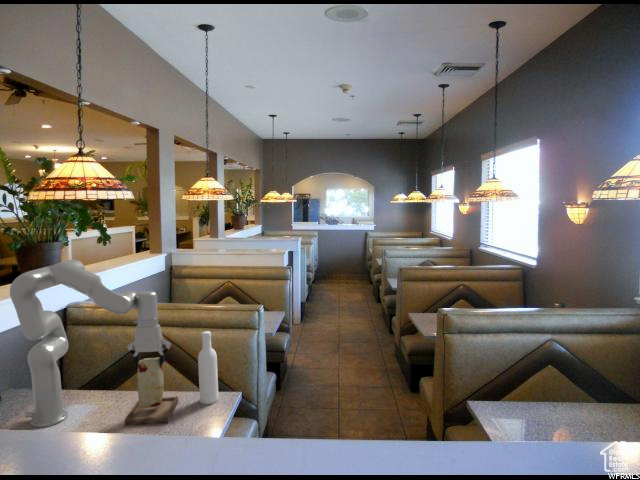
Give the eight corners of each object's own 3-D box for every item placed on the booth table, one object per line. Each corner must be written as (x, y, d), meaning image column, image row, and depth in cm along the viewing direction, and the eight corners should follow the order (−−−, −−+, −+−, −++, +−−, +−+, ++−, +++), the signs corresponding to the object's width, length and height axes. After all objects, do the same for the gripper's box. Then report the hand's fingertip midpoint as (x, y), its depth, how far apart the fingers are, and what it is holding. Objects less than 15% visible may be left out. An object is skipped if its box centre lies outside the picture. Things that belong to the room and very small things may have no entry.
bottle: (200, 397, 192) (197, 330, 190) (219, 395, 194) (216, 329, 191) (198, 405, 184) (195, 335, 182) (218, 403, 186) (215, 334, 183)
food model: (140, 412, 173) (137, 362, 171) (137, 405, 178) (135, 357, 177) (166, 406, 178) (163, 357, 176) (162, 399, 183) (160, 353, 182)
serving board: (125, 425, 169) (124, 419, 168) (139, 404, 186) (139, 398, 186) (167, 423, 170) (167, 417, 170) (178, 402, 188) (178, 396, 188)
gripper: (122, 325, 170) (124, 369, 172) (168, 324, 172) (170, 367, 174) (128, 320, 178) (130, 362, 179) (172, 319, 180) (174, 360, 181)
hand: (150, 364), depth 176 cm, fingers closed on food model, 8 cm apart
